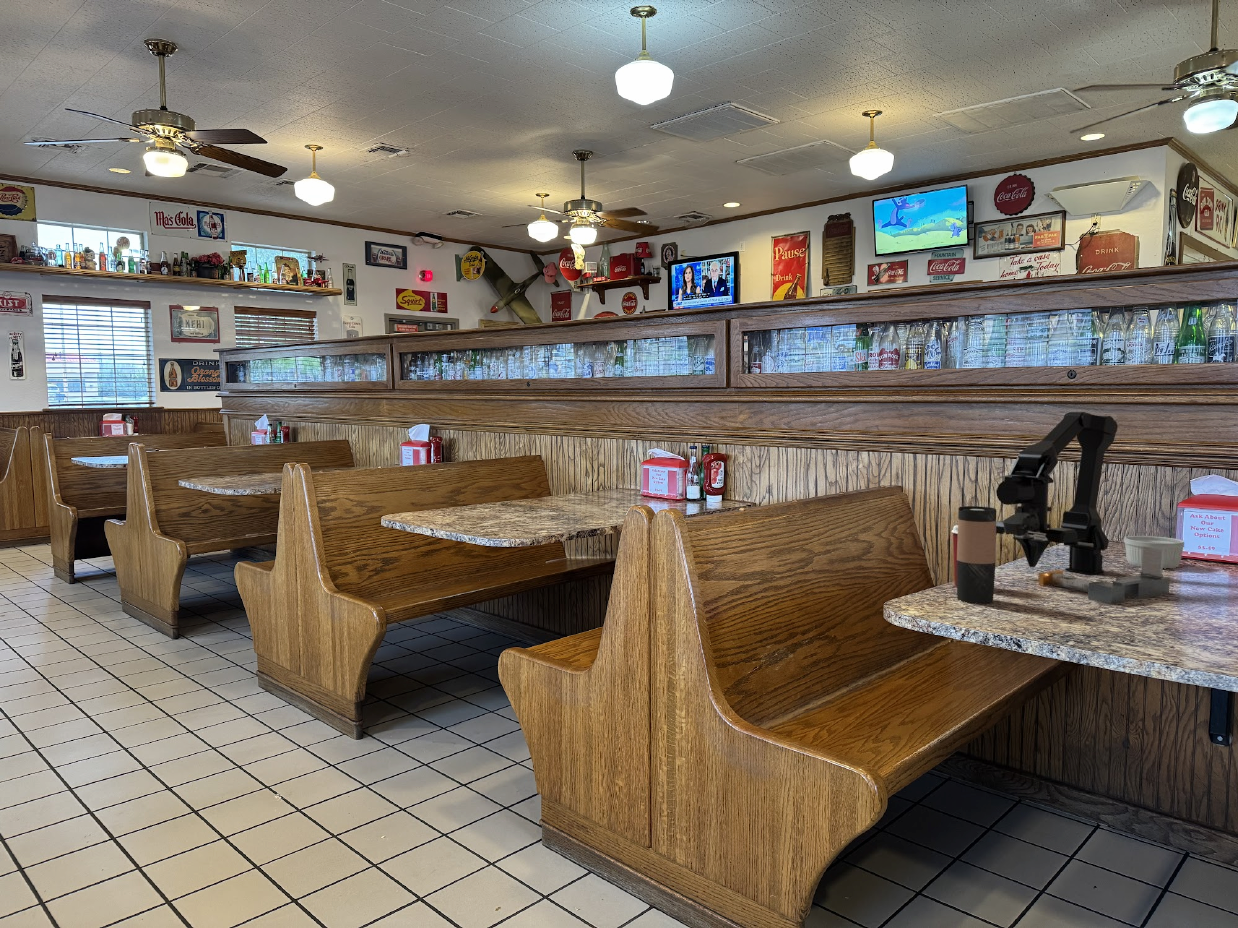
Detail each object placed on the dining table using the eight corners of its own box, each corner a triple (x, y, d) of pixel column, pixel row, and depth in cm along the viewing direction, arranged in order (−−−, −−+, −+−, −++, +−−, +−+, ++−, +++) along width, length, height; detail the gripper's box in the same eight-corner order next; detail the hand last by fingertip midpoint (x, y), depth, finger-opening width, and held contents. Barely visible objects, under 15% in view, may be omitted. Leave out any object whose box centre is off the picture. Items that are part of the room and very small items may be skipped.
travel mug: (999, 599, 175) (1002, 508, 174) (987, 606, 169) (989, 511, 168) (963, 594, 180) (965, 505, 179) (950, 600, 175) (952, 508, 173)
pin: (1038, 585, 189) (1038, 572, 189) (1057, 582, 192) (1058, 570, 192) (1080, 594, 180) (1080, 581, 180) (1099, 591, 183) (1100, 577, 183)
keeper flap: (1139, 574, 183) (1142, 546, 182) (1142, 574, 183) (1144, 546, 183) (1160, 578, 179) (1163, 549, 179) (1162, 578, 179) (1165, 549, 179)
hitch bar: (1088, 599, 175) (1088, 580, 175) (1145, 589, 185) (1146, 571, 184) (1111, 604, 171) (1112, 584, 170) (1169, 593, 180) (1169, 574, 180)
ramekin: (1114, 560, 220) (1115, 534, 220) (1166, 561, 218) (1167, 535, 218) (1138, 569, 207) (1139, 542, 207) (1194, 570, 205) (1195, 543, 205)
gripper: (977, 500, 198) (976, 563, 199) (1048, 508, 181) (1046, 577, 182) (1008, 497, 203) (1006, 559, 204) (1080, 505, 186) (1077, 572, 188)
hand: (1032, 566), depth 194 cm, fingers closed
